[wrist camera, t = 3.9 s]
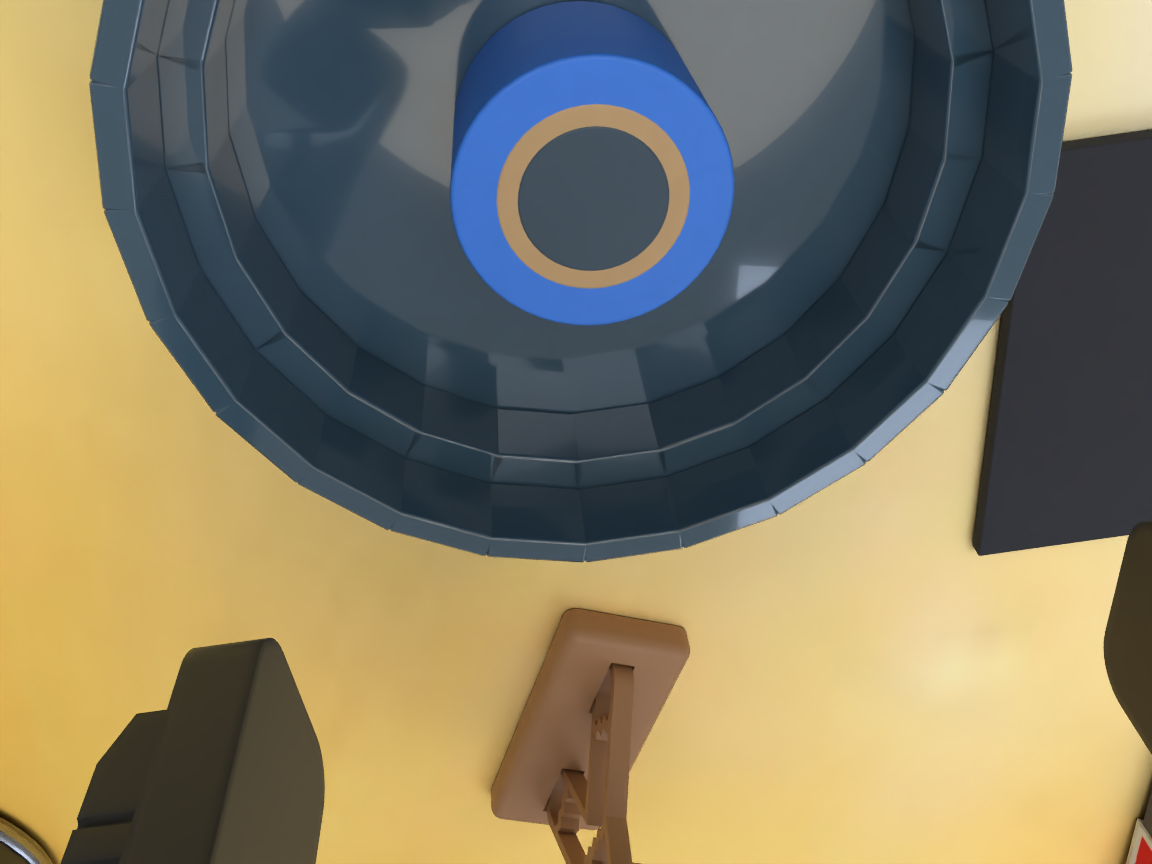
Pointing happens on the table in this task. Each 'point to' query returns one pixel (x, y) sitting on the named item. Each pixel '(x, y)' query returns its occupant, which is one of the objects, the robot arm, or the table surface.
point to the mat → (1076, 362)
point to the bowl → (557, 350)
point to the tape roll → (586, 166)
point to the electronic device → (1142, 839)
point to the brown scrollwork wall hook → (589, 730)
